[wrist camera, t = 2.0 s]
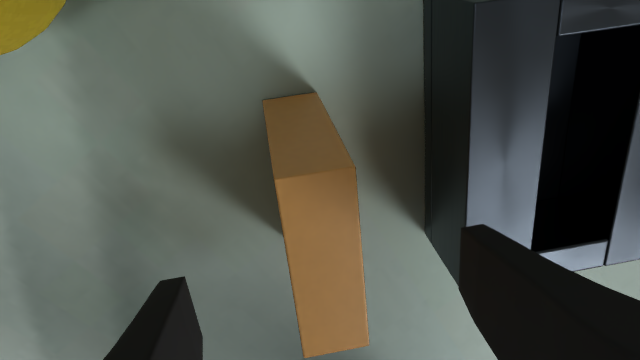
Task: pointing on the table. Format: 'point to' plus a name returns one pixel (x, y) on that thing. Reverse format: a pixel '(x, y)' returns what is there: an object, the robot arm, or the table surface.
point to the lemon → (25, 21)
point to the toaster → (534, 126)
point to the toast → (318, 224)
